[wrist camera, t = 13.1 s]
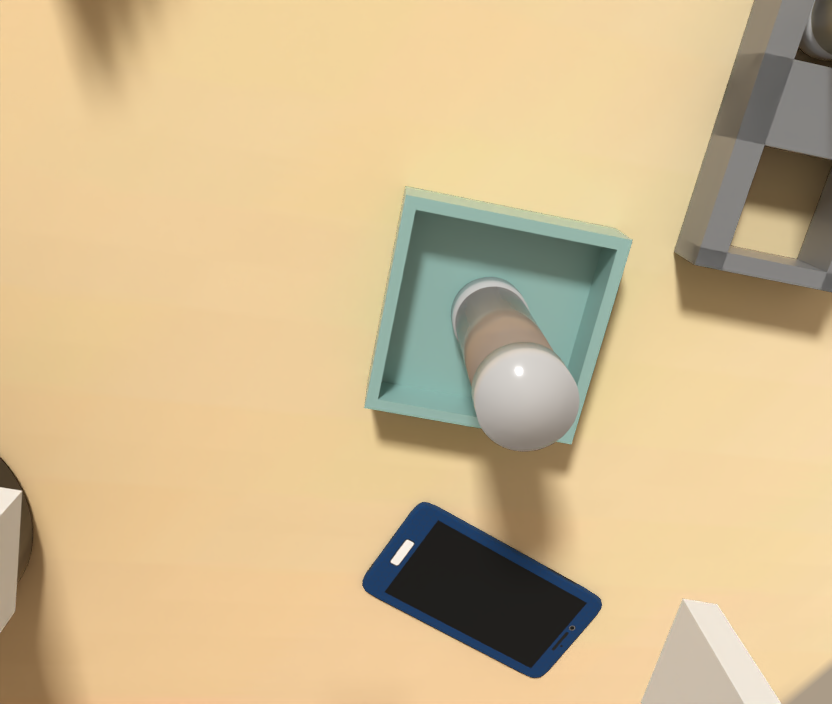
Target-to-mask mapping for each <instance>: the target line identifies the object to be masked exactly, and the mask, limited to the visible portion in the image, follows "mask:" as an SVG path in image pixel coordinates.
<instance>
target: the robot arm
mask: <svg viewBox="0 0 832 704" xmlns="http://www.w3.org/2000/svg"><path fill="white" fill-rule="evenodd" d="M32 541H33V529H32V520H31V515H30V511H29V507H28V504H27V501H26V499H25V496H24V494H23V492H22V489H21V487H20V486H19V484H18V482H17V480H16V479H15V477H14V475H13V474H12V472H11V471H10V470H9V468H8V467H7V466H6V464H5V463H4V462H3V461H2V460H1V458H0V633H1V631H2V630H3V628H4V627H5V625H6V624H7V623H8V621H9V620H10V618H11V617H12V615H13V614H14V612H15V608H16V590H17V583H18V581H19V580H20V578H21V577H22V575H23V573H24V571H25V569H26V567H27V564H28V561H29V558H30V554H31V549H32ZM641 704H781V702H780V701H779V699H778V697H777V696H776V694H775V693H774V691H773V690H772V688H771V687H770V685H769V683H768V682H767V680H766V679H765V677H764V676H763V674H762V673H761V671H760V670H759V668H758V666H757V665H756V663H755V662H754V660H753V659H752V657H751V656H750V654H749V653H748V651H747V649H746V648H745V646H744V645H743V643H742V642H741V640H740V639H739V637H738V635H737V634H736V632H735V631H734V629H733V628H732V626H731V625H730V623H729V622H728V620H727V618H726V617H725V615H724V614H723V612H722V611H721V609H720V608H719V606H718V604H713V603H706V602H700V601H694V600H688V599H682V602H681V604H680V607H679V609H678V612H677V614H676V617H675V619H674V621H673V624H672V626H671V629H670V631H669V634H668V636H667V639H666V641H665V644H664V646H663V649H662V651H661V654H660V656H659V659H658V661H657V663H656V666H655V668H654V671H653V673H652V676H651V678H650V681H649V683H648V686H647V688H646V691H645V693H644V696H643V698H642V700H641Z"/></svg>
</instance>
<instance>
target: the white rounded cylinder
mask: <svg viewBox="0 0 832 704" xmlns="http://www.w3.org/2000/svg"><path fill="white" fill-rule="evenodd" d="M799 47H800V48H801V50H802V51H803V52H804V53H806V54H807V55H809V56H811V57H813V58H815V59H819V60H832V0H814V3H813V6H812V9H811V12H810V15H809V18H808V21H807V24H806V27H805V29H804V32H803V35H802V38H801V41H800V44H799Z"/></svg>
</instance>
